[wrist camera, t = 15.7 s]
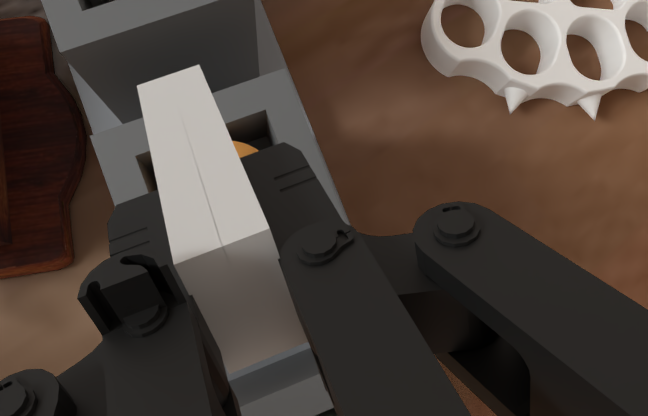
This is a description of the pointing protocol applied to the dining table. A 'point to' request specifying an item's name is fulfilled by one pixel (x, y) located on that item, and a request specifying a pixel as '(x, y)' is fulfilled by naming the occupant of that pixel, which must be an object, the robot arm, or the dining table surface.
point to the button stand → (234, 106)
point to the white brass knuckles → (543, 49)
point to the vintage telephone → (35, 152)
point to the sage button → (328, 413)
